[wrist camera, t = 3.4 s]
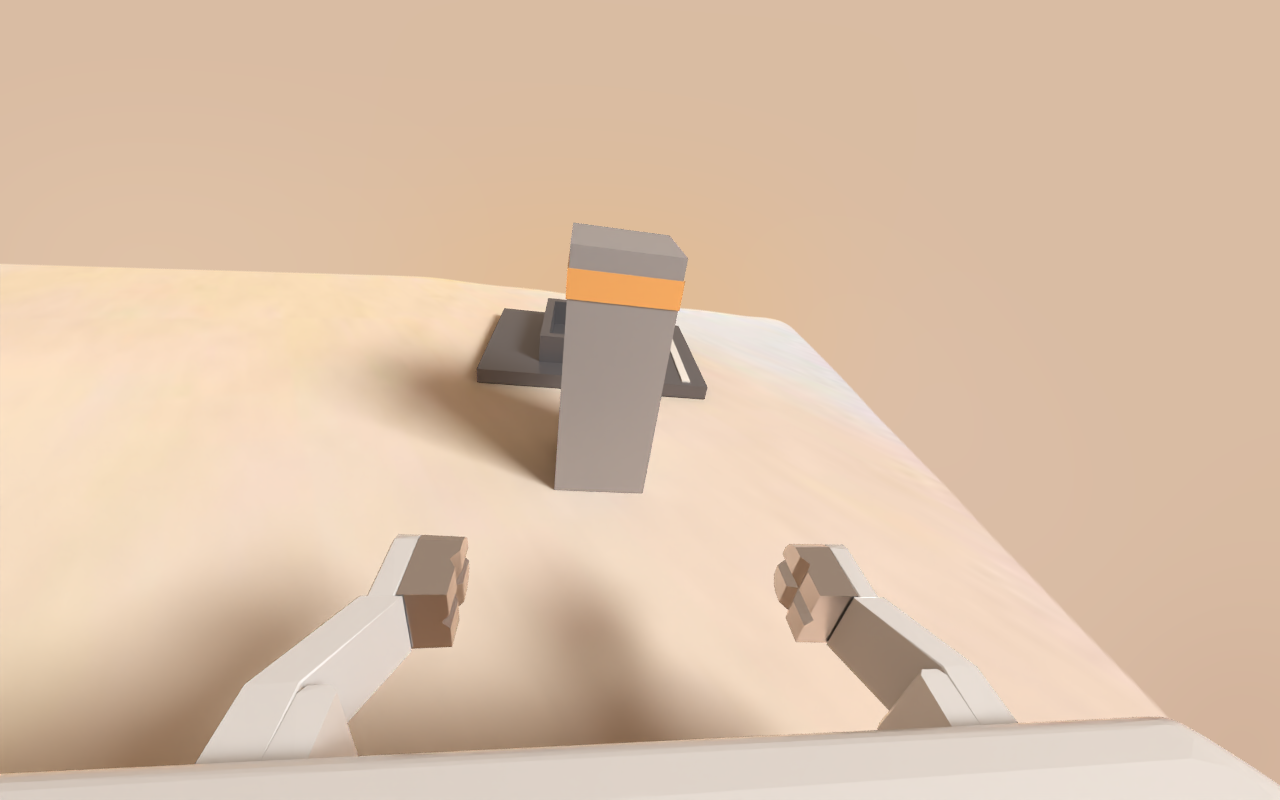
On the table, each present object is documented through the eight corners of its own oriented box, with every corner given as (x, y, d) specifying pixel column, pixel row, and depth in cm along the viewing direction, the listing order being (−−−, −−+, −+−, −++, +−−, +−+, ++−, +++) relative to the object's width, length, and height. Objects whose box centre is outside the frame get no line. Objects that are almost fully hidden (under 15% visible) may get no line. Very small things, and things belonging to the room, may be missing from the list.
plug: (553, 490, 23) (569, 243, 17) (557, 437, 27) (572, 222, 21) (643, 494, 23) (689, 259, 17) (635, 441, 27) (670, 235, 21)
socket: (477, 381, 31) (475, 341, 29) (504, 319, 41) (504, 286, 39) (704, 399, 33) (713, 362, 32) (676, 335, 43) (682, 305, 42)
